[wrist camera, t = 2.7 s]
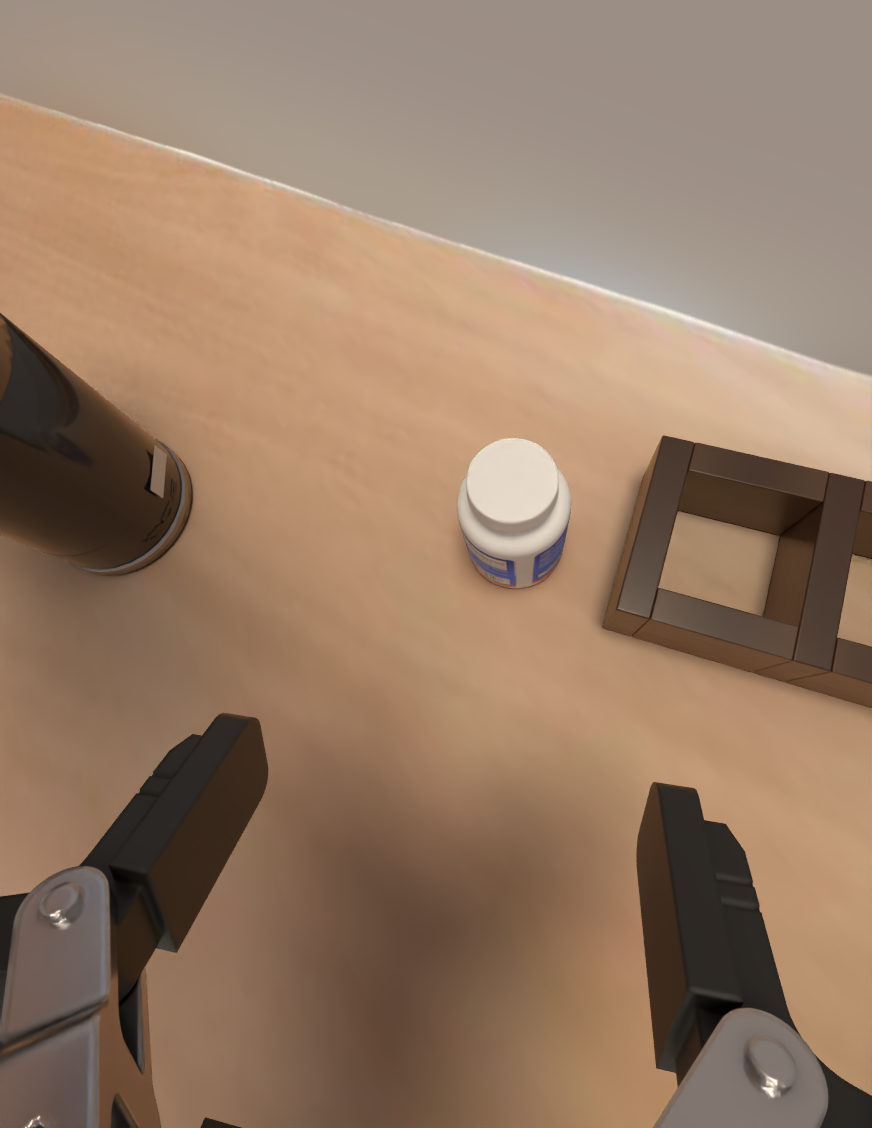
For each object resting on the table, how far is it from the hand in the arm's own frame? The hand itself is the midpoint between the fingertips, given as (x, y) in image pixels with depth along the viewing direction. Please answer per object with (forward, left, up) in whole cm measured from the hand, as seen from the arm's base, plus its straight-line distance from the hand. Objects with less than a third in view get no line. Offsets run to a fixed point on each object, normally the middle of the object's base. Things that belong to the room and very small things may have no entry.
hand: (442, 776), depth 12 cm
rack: (+12, +13, -21) cm, 27 cm away
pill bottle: (-2, +11, -21) cm, 24 cm away
